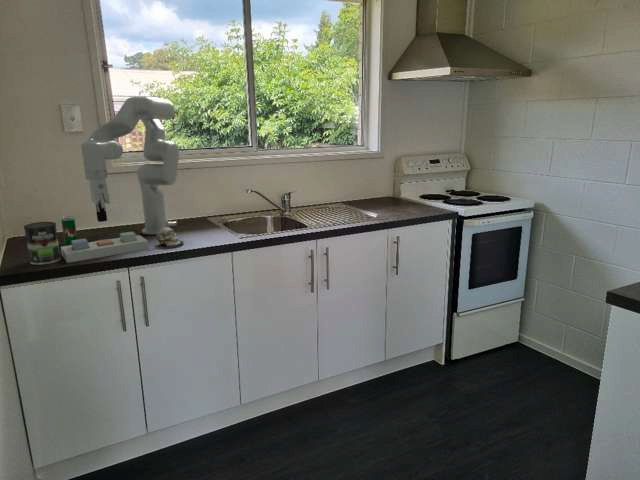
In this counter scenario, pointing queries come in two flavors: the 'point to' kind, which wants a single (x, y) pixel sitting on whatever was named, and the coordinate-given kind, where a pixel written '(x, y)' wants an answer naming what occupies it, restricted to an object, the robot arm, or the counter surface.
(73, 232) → the soda can
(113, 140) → the robot arm
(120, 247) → the keypad housing
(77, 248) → the slate key
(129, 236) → the sage key
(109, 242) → the terracotta key
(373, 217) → the counter surface
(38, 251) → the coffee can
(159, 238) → the skull
